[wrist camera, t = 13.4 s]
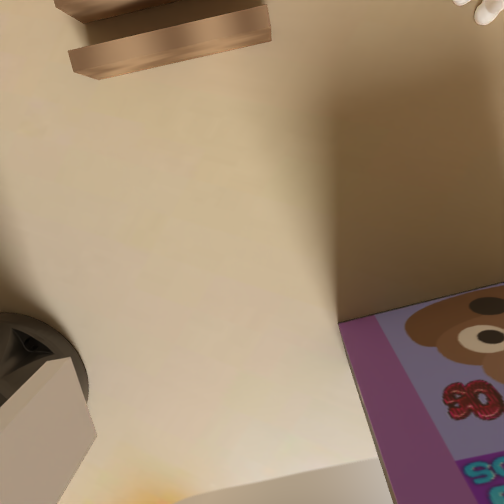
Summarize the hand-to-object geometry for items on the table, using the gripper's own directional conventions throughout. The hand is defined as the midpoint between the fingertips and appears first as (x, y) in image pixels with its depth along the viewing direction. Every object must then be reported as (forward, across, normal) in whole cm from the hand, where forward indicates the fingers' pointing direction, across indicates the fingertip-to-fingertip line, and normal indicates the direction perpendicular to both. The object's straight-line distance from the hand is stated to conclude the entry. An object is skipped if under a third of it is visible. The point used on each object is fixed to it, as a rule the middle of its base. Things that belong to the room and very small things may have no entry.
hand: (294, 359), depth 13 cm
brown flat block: (+29, +6, -15) cm, 33 cm away
